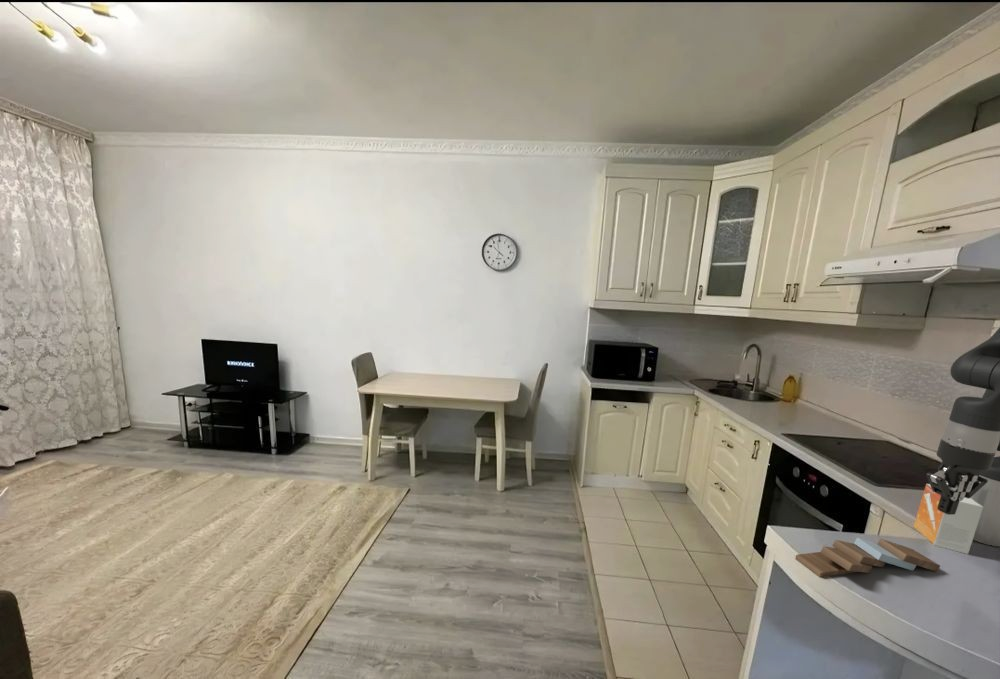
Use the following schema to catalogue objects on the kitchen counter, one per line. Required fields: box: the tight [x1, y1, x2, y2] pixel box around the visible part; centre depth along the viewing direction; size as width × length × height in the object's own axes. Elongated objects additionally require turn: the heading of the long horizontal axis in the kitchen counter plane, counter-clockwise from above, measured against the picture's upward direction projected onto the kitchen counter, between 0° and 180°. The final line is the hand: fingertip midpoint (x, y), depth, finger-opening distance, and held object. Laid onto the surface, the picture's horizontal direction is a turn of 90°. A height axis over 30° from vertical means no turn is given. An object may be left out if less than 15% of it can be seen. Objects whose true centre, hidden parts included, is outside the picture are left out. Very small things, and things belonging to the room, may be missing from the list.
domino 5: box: [876, 538, 941, 572], centre depth 81 cm, size 2×5×10 cm
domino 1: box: [794, 551, 855, 578], centre depth 78 cm, size 2×5×10 cm
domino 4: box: [853, 537, 917, 572], centre depth 81 cm, size 2×5×10 cm
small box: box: [913, 483, 983, 555], centre depth 90 cm, size 8×6×13 cm
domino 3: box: [832, 539, 887, 568], centre depth 80 cm, size 2×5×10 cm
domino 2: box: [819, 545, 874, 574], centre depth 77 cm, size 2×5×10 cm
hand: (945, 512), depth 82 cm, fingers closed
